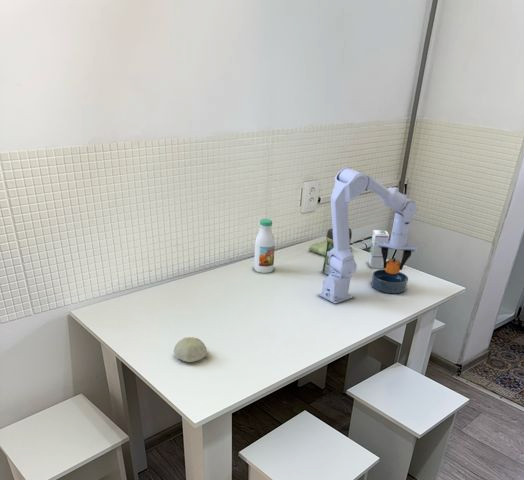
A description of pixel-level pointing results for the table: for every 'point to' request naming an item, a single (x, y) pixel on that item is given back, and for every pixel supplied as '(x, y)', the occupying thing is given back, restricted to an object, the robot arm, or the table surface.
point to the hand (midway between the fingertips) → (392, 268)
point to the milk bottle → (264, 248)
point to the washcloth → (320, 247)
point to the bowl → (389, 281)
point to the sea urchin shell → (190, 349)
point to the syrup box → (377, 249)
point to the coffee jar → (330, 246)
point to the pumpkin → (392, 266)
